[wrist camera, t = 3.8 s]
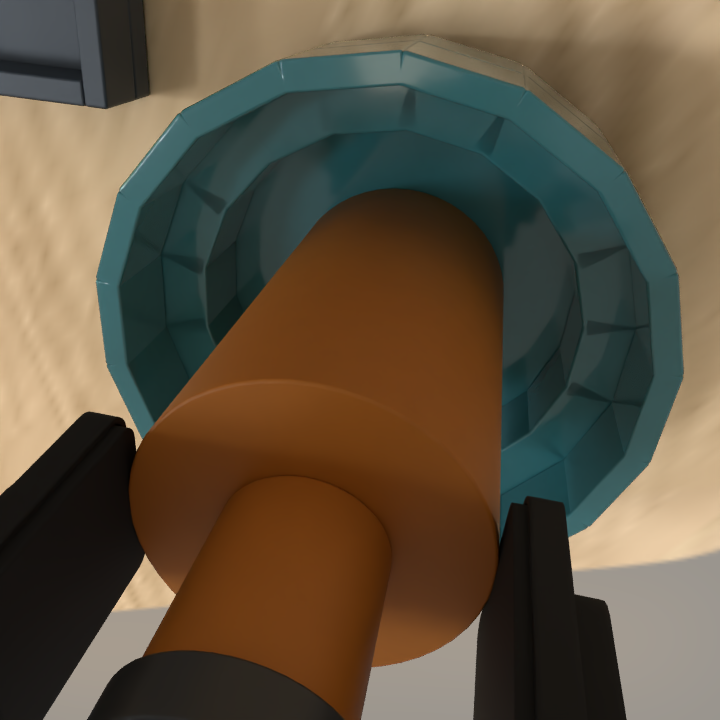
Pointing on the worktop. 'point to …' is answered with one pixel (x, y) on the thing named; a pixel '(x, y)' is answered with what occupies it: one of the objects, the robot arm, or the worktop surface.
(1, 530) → the robot arm
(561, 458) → the bowl
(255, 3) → the worktop surface
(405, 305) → the bottle
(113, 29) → the tray
